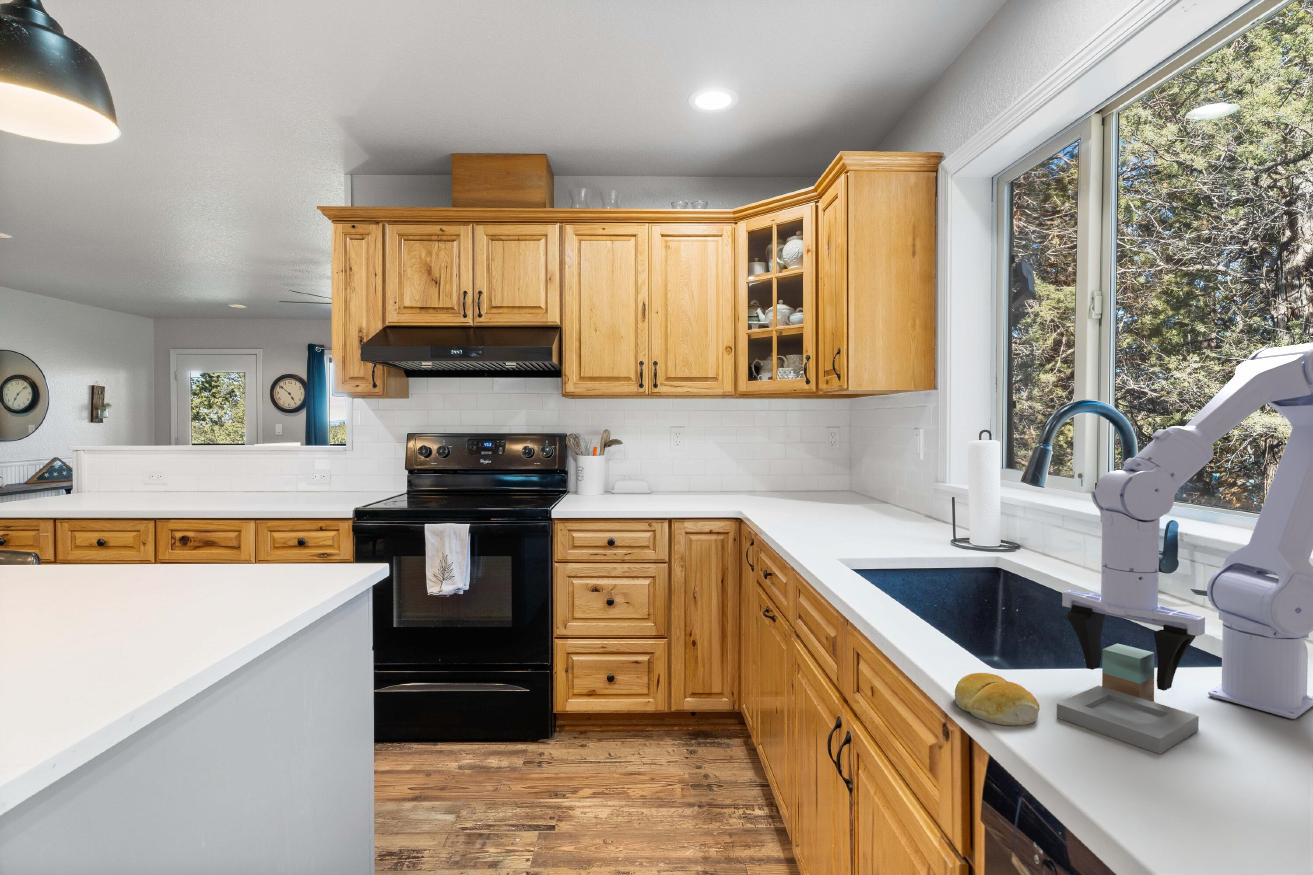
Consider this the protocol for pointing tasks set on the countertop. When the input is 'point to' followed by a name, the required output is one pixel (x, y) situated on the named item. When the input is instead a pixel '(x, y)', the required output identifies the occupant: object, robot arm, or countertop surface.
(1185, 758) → the countertop surface
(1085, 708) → the base plate
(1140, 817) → the countertop surface
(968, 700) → the bread roll
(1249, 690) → the robot arm
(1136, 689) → the brick stack
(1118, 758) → the countertop surface
